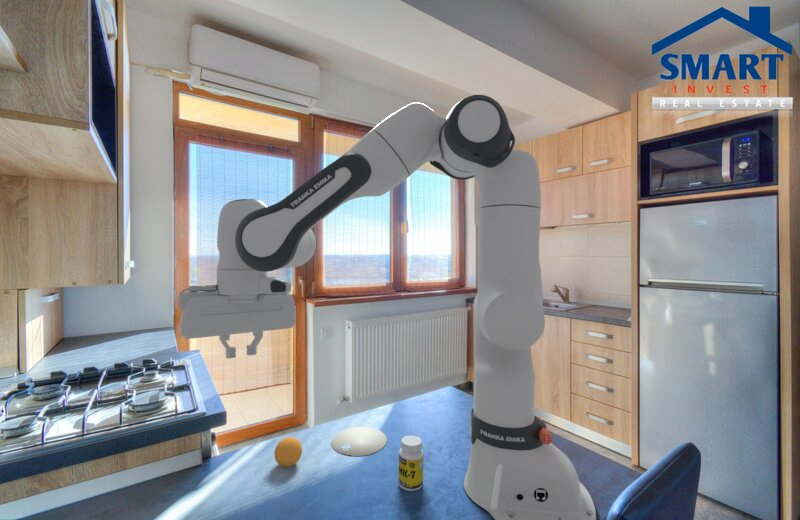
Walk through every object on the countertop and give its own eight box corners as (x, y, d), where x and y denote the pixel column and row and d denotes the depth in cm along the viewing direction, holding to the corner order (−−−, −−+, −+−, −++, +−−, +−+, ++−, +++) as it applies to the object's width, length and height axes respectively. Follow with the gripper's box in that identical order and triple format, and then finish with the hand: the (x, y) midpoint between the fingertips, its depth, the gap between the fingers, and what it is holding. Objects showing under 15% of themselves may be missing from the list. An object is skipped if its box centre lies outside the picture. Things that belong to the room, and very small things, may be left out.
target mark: (393, 431, 87) (393, 430, 87) (376, 460, 75) (376, 459, 75) (345, 424, 90) (345, 424, 90) (321, 451, 78) (321, 450, 78)
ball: (306, 459, 74) (307, 434, 74) (292, 474, 69) (293, 447, 69) (284, 455, 76) (284, 430, 76) (268, 470, 70) (269, 443, 70)
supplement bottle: (393, 487, 66) (394, 442, 66) (405, 473, 70) (405, 431, 70) (416, 495, 64) (417, 449, 64) (427, 481, 68) (427, 437, 68)
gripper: (180, 287, 58) (178, 369, 58) (299, 283, 70) (298, 352, 70) (177, 284, 63) (176, 360, 63) (288, 282, 75) (287, 345, 75)
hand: (241, 356), depth 67 cm, fingers open, 2 cm apart
